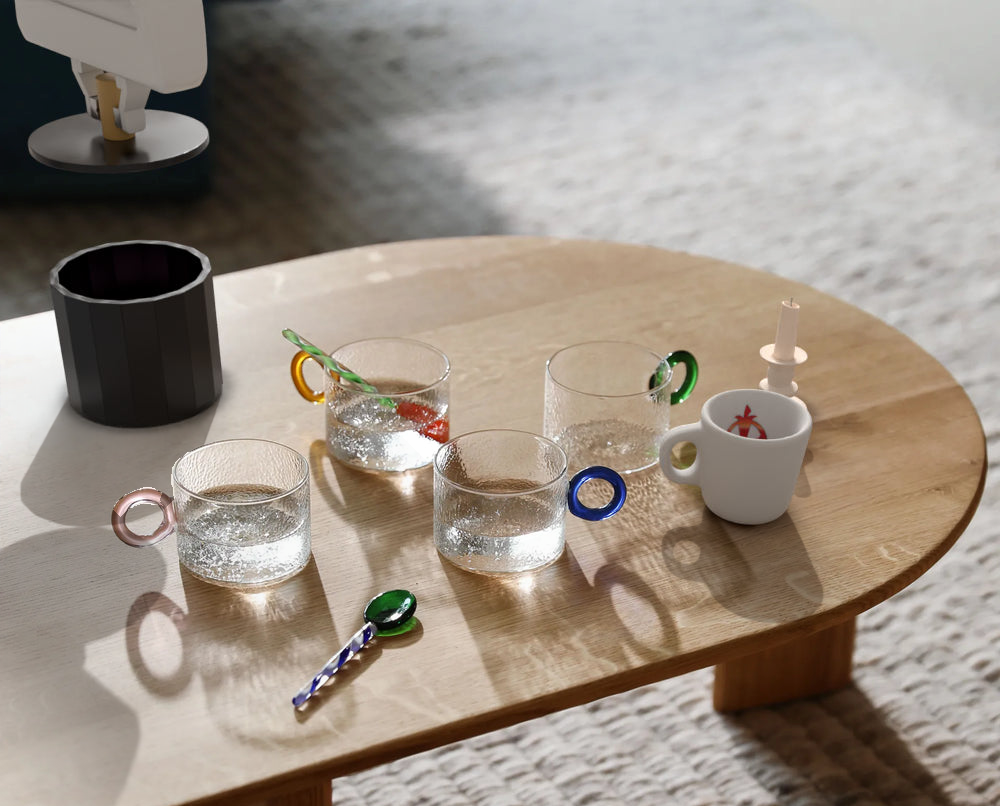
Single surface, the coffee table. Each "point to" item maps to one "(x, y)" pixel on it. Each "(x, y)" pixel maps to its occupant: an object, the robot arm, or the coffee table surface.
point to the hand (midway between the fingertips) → (117, 124)
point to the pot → (137, 332)
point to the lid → (117, 138)
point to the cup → (743, 453)
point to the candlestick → (784, 354)
